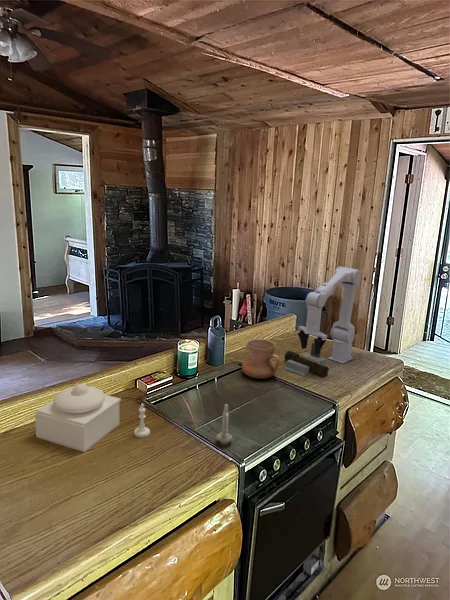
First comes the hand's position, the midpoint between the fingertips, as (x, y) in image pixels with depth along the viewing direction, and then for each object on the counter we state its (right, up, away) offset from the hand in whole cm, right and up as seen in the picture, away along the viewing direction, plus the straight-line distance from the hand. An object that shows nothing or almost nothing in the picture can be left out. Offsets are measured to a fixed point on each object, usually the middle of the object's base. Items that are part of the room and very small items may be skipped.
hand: (310, 351), depth 187 cm
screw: (-37, -22, -53) cm, 68 cm away
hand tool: (-2, -9, +7) cm, 12 cm away
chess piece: (-62, -20, -50) cm, 82 cm away
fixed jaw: (-5, -9, +4) cm, 11 cm away
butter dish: (-81, -19, -50) cm, 98 cm away
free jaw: (+4, -7, +13) cm, 15 cm away
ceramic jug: (-22, -10, -3) cm, 24 cm away
